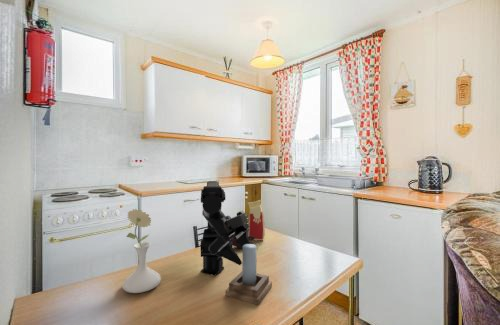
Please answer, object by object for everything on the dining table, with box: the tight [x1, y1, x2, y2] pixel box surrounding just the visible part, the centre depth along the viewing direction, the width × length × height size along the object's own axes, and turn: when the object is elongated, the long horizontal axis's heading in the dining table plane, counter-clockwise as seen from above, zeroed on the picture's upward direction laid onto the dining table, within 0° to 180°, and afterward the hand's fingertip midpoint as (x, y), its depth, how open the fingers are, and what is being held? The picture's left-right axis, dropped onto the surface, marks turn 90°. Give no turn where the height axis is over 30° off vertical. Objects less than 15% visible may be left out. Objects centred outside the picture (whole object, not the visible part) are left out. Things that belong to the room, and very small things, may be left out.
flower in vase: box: [121, 208, 162, 294], centre depth 77 cm, size 13×11×25 cm
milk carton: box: [247, 199, 266, 241], centre depth 124 cm, size 9×9×20 cm
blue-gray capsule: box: [241, 243, 258, 287], centre depth 75 cm, size 4×4×12 cm
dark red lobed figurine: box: [229, 235, 255, 250], centre depth 110 cm, size 7×7×15 cm
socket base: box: [224, 270, 273, 306], centre depth 75 cm, size 11×11×4 cm
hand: (247, 258), depth 75 cm, fingers open, 9 cm apart
